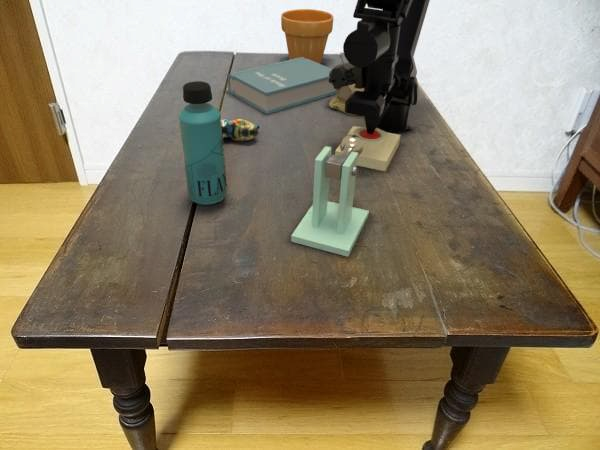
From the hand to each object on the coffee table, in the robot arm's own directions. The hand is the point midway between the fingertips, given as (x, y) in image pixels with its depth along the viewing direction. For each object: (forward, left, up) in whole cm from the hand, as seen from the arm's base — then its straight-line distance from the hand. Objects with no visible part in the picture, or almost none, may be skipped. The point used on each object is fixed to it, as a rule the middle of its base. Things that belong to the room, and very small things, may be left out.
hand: (370, 133), depth 93 cm
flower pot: (-13, -53, -4) cm, 55 cm away
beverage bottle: (+34, +4, -4) cm, 35 cm away
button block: (0, 0, -4) cm, 4 cm away
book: (+2, -35, -4) cm, 35 cm away
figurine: (+24, -18, -4) cm, 30 cm away
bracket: (+19, +19, -4) cm, 27 cm away
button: (0, 0, -2) cm, 2 cm away
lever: (+16, +16, +5) cm, 23 cm away
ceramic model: (-11, -21, -4) cm, 24 cm away
